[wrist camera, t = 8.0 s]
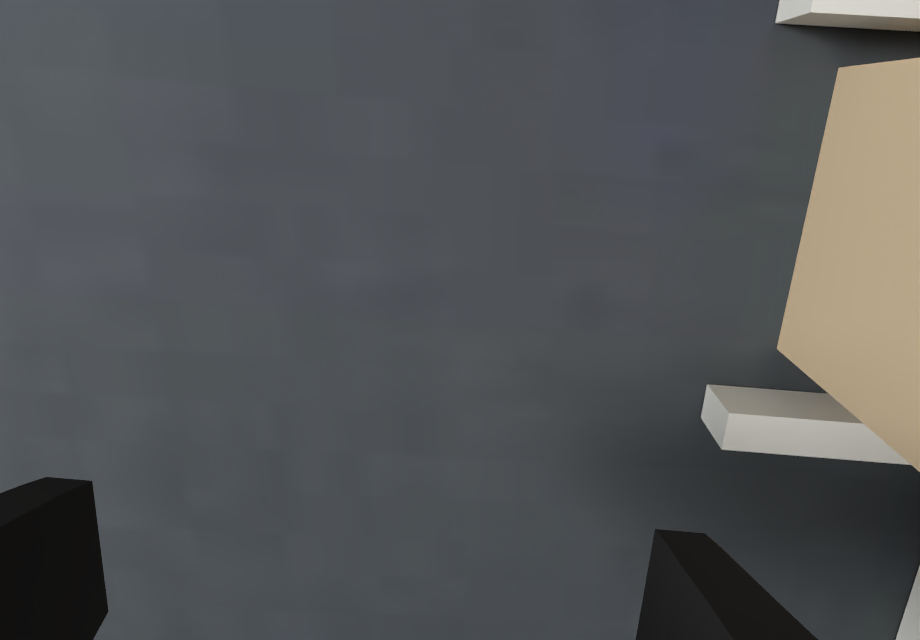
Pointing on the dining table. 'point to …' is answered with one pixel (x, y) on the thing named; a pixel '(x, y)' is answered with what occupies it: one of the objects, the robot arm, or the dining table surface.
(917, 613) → the white letter f
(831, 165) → the box
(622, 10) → the dining table surface
